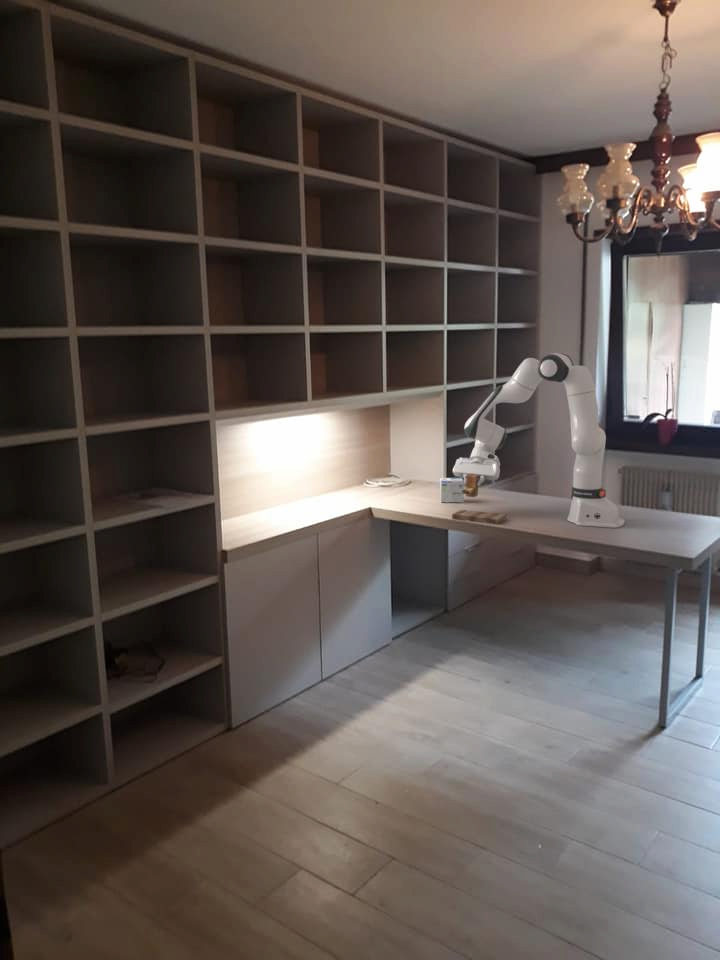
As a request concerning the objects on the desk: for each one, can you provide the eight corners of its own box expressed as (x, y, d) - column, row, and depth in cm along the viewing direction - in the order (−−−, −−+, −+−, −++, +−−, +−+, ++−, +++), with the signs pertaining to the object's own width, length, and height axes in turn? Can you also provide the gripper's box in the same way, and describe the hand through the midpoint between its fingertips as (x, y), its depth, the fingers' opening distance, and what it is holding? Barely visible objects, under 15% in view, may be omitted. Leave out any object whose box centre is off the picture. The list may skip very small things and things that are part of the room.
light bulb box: (462, 500, 363) (462, 477, 361) (463, 503, 356) (464, 480, 354) (439, 500, 363) (439, 477, 361) (440, 503, 356) (440, 480, 354)
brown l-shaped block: (477, 495, 335) (478, 474, 333) (469, 499, 327) (470, 478, 325) (469, 494, 337) (469, 474, 335) (460, 498, 329) (461, 477, 327)
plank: (505, 519, 326) (505, 514, 325) (497, 524, 317) (498, 519, 317) (461, 514, 335) (461, 509, 335) (452, 518, 327) (452, 514, 326)
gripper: (456, 452, 342) (447, 478, 335) (500, 456, 332) (492, 483, 325) (459, 461, 346) (450, 486, 340) (503, 465, 337) (495, 491, 330)
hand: (471, 485), depth 333 cm, fingers closed on brown l-shaped block, 4 cm apart
